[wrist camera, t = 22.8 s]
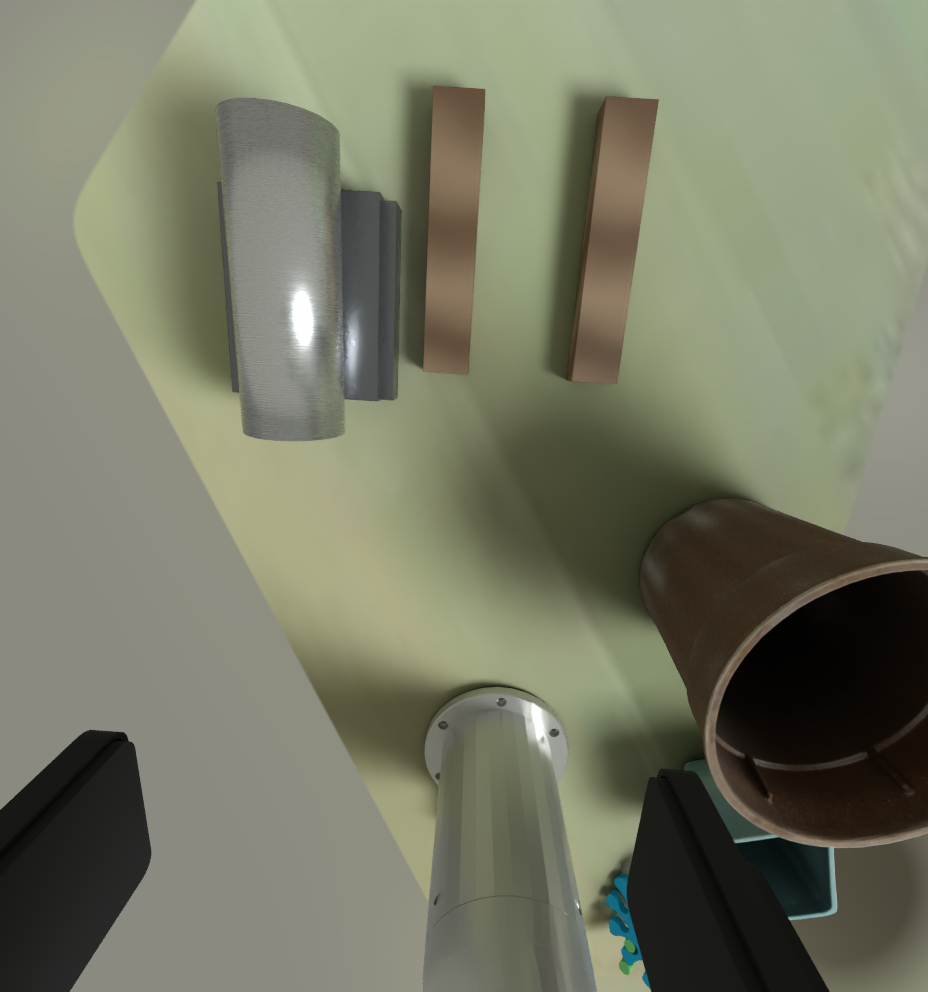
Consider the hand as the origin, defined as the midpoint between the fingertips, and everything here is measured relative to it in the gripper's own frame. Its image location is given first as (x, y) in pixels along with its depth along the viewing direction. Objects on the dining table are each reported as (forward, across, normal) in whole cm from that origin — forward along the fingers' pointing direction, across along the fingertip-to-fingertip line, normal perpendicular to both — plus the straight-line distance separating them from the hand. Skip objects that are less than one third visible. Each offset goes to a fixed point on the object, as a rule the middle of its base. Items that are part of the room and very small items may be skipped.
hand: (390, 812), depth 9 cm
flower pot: (+29, -25, +27) cm, 47 cm away
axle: (+25, +10, -11) cm, 29 cm away
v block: (+28, +10, -11) cm, 32 cm away
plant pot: (+28, -21, +7) cm, 36 cm away
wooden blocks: (+28, -4, -15) cm, 32 cm away
